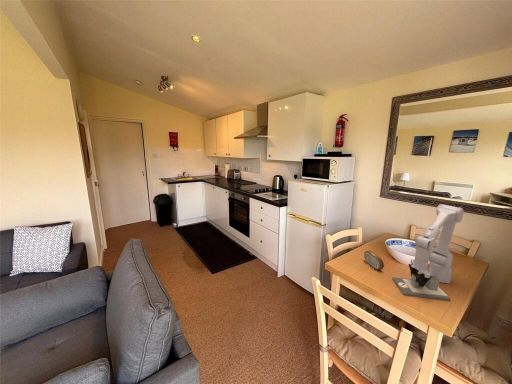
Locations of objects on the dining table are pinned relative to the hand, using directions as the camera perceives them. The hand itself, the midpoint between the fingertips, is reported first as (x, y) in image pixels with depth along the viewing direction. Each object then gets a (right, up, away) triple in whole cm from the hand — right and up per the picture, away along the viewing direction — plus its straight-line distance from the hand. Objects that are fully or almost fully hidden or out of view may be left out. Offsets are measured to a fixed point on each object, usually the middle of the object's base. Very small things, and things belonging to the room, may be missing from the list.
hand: (417, 281), depth 114 cm
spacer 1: (0, -2, 0) cm, 2 cm away
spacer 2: (+7, -3, -1) cm, 7 cm away
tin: (-11, 0, +23) cm, 26 cm away
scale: (+1, -4, +1) cm, 4 cm away
